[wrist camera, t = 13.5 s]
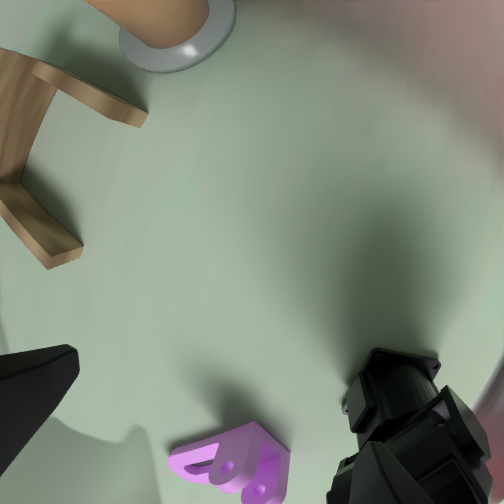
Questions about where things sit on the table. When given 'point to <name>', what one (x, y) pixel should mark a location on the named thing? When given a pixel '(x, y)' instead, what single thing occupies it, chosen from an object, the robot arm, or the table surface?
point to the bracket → (237, 464)
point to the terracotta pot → (157, 19)
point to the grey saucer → (187, 52)
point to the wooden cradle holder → (21, 139)
